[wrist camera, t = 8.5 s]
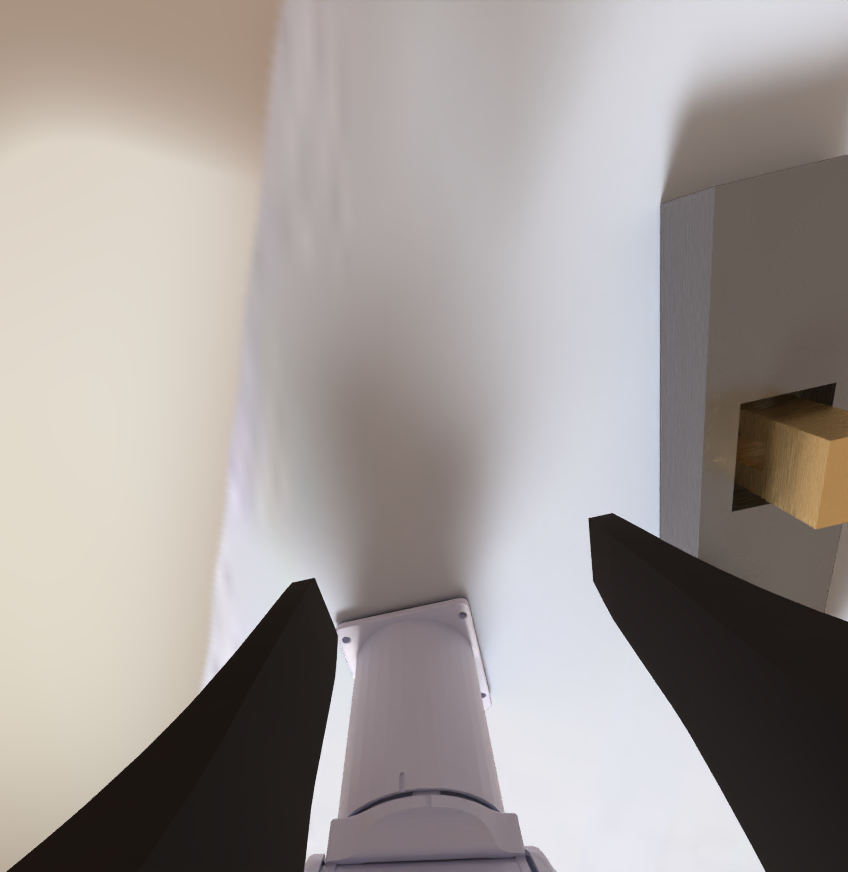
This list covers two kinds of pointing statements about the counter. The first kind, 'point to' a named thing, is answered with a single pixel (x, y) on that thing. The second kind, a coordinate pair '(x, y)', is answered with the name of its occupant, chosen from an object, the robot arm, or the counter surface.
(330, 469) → the counter surface
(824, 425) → the tan wooden block
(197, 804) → the robot arm
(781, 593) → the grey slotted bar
